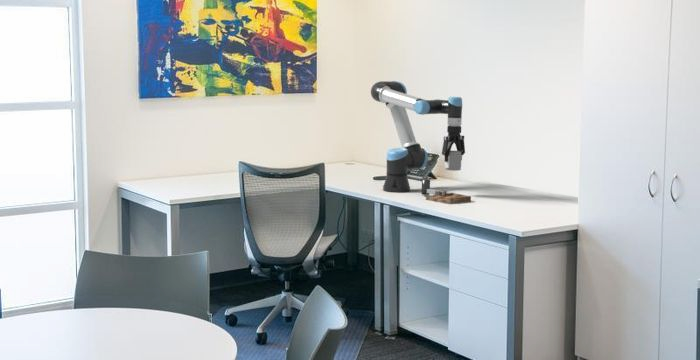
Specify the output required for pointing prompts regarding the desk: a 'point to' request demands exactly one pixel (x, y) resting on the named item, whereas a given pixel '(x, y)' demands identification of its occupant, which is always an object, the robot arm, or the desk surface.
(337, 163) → the desk surface
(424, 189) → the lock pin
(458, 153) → the cup
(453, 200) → the dock
